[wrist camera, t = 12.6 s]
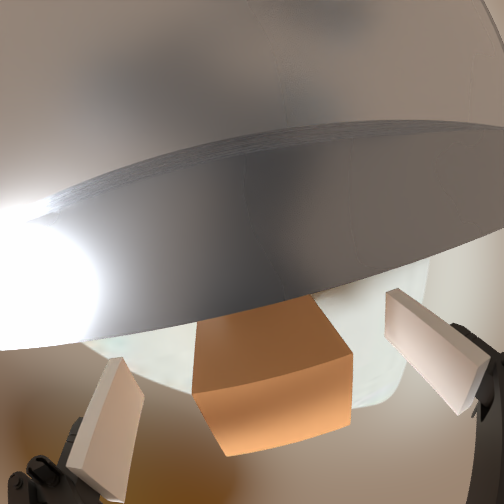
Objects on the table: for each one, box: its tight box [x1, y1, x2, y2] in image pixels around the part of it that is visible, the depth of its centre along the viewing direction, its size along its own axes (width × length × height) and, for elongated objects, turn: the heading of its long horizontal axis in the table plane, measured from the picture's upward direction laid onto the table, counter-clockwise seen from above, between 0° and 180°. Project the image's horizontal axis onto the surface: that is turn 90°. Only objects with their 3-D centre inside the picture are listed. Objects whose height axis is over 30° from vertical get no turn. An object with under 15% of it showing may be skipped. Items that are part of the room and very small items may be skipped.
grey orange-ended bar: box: [192, 294, 353, 456], centre depth 10 cm, size 24×5×10 cm, turn 12°
